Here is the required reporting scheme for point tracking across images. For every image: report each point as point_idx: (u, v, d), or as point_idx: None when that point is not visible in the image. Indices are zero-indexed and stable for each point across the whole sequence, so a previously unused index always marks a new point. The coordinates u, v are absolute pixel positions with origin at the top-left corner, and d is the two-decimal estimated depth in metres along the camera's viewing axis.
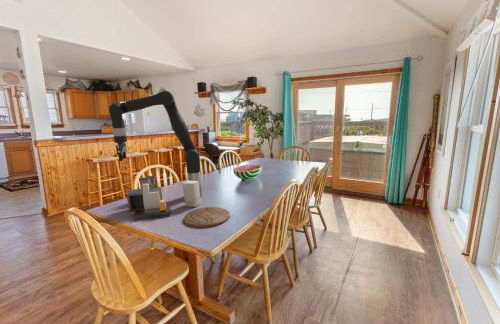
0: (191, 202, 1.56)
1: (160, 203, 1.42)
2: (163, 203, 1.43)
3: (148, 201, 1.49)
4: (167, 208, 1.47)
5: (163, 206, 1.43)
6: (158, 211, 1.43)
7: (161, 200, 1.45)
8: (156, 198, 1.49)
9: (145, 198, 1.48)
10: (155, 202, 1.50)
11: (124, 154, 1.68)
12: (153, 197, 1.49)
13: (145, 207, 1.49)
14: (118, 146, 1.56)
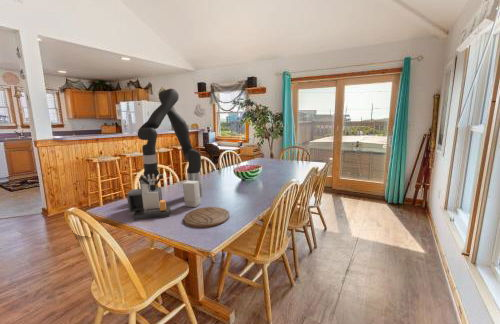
0: (191, 202, 1.56)
1: (160, 203, 1.42)
2: (163, 203, 1.43)
3: (147, 201, 1.49)
4: (167, 208, 1.47)
5: (163, 206, 1.43)
6: (158, 211, 1.43)
7: (161, 200, 1.45)
8: (155, 198, 1.49)
9: (144, 198, 1.48)
10: (154, 202, 1.50)
11: None
12: (152, 197, 1.49)
13: (144, 207, 1.49)
14: None
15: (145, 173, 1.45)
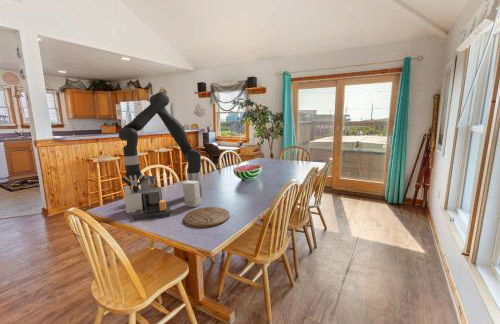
0: (191, 202, 1.56)
1: (160, 203, 1.42)
2: (163, 203, 1.43)
3: (130, 203, 1.47)
4: (167, 208, 1.47)
5: (163, 206, 1.43)
6: (158, 211, 1.43)
7: (161, 200, 1.45)
8: (138, 200, 1.47)
9: (127, 200, 1.46)
10: (137, 204, 1.48)
11: None
12: (135, 199, 1.47)
13: (127, 209, 1.47)
14: (144, 177, 1.46)
15: (127, 174, 1.43)
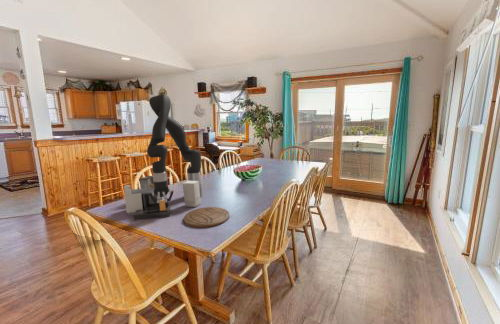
0: (191, 202, 1.56)
1: (160, 203, 1.42)
2: (163, 203, 1.43)
3: (130, 203, 1.47)
4: (167, 208, 1.47)
5: (163, 206, 1.43)
6: (158, 211, 1.43)
7: (161, 200, 1.45)
8: (138, 200, 1.47)
9: (127, 200, 1.46)
10: (137, 204, 1.48)
11: None
12: (135, 199, 1.47)
13: (127, 209, 1.47)
14: None
15: (155, 191, 1.41)
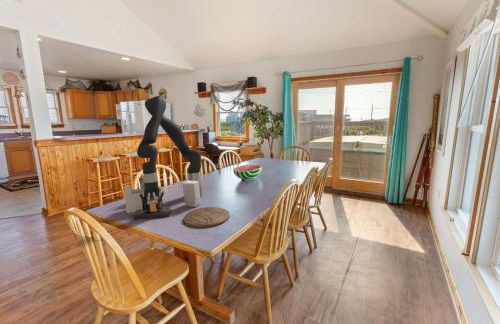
0: (191, 202, 1.56)
1: (150, 204, 1.41)
2: (153, 204, 1.41)
3: (130, 203, 1.47)
4: (167, 208, 1.47)
5: (153, 207, 1.42)
6: (158, 211, 1.43)
7: (152, 201, 1.44)
8: (138, 200, 1.47)
9: (127, 200, 1.46)
10: (137, 204, 1.48)
11: None
12: (135, 199, 1.47)
13: (127, 209, 1.47)
14: (163, 193, 1.44)
15: (145, 192, 1.40)
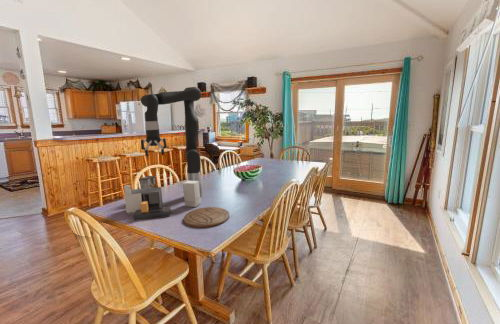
0: (191, 202, 1.56)
1: (141, 205, 1.40)
2: (145, 205, 1.40)
3: (130, 203, 1.47)
4: (167, 208, 1.47)
5: (145, 208, 1.41)
6: (158, 211, 1.43)
7: (143, 202, 1.43)
8: (138, 200, 1.47)
9: (127, 200, 1.46)
10: (137, 204, 1.48)
11: (147, 151, 1.50)
12: (135, 199, 1.47)
13: (127, 209, 1.47)
14: (165, 139, 1.51)
15: (148, 140, 1.48)
